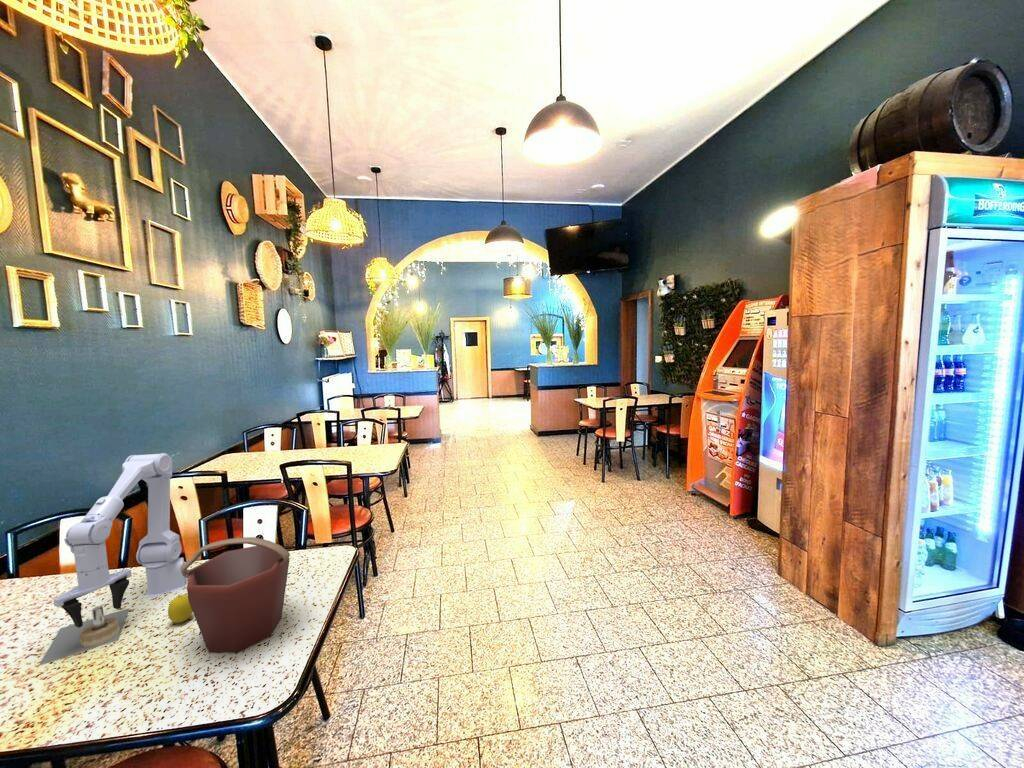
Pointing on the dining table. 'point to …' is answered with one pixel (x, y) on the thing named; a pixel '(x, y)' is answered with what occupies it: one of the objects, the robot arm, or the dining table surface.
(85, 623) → the mat
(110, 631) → the maple bead
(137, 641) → the dining table surface
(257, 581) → the bucket
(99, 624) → the steel peg
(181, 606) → the lemon
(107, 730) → the dining table surface
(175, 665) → the dining table surface
